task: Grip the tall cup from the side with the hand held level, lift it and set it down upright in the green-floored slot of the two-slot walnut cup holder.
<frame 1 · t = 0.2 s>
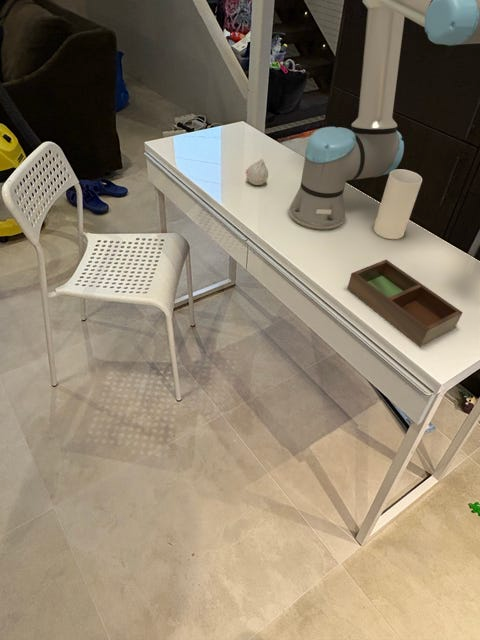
holder: (399, 308, 110), on the table
garlic bulb: (255, 184, 150), on the table
cup: (388, 231, 135), on the table
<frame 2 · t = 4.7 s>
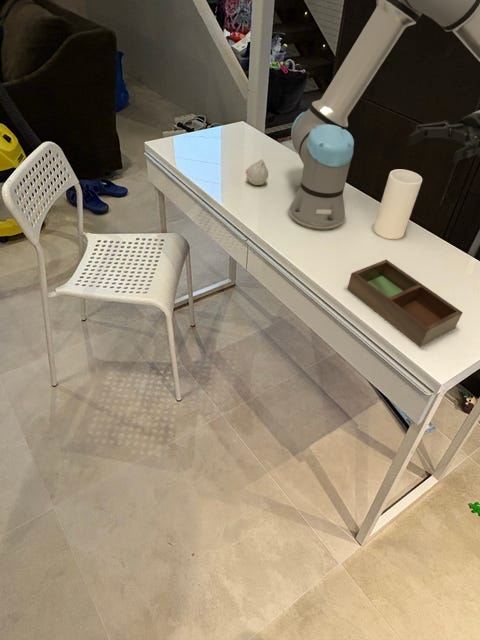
hand: (430, 149, 125), 21 cm above the table, tool horizontal, fingers open, 13 cm apart
nothing on the table moved.
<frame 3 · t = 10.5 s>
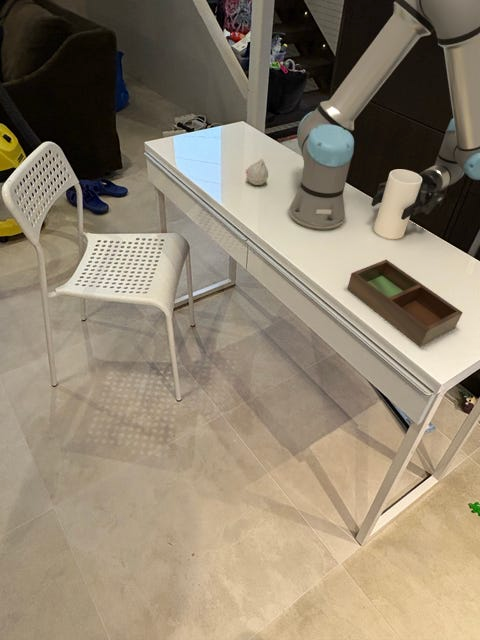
hand: (388, 207, 126), 9 cm above the table, tool horizontal, fingers closed on cup, 8 cm apart
cup: (388, 231, 135), on the table, touching gripper
everything else where it was.
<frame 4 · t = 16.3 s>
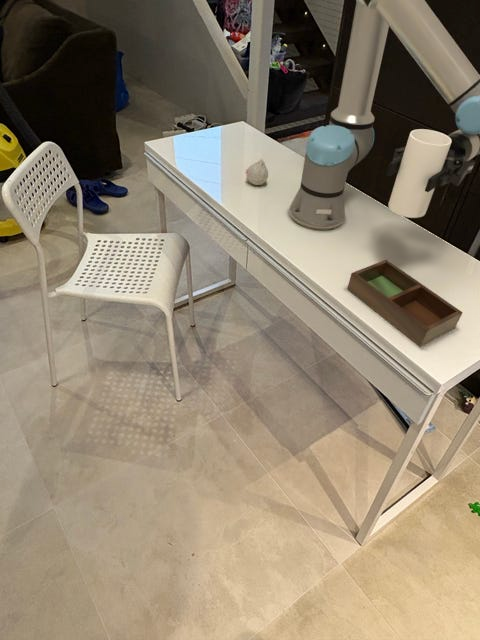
hand: (408, 177, 100), 26 cm above the table, tool horizontal, fingers closed on cup, 8 cm apart
cup: (406, 209, 109), point 17 cm above the table, touching gripper
everything else where it was.
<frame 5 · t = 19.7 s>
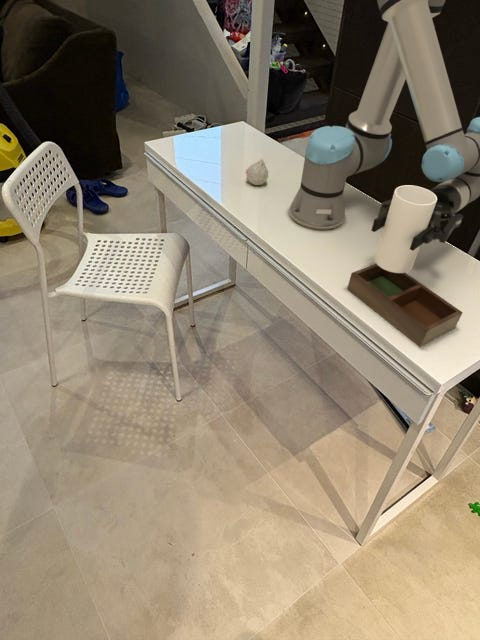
hand: (393, 234, 98), 18 cm above the table, tool horizontal, fingers closed on cup, 8 cm apart
cup: (393, 262, 107), point 9 cm above the table, touching gripper
everything else where it was.
when the fingers open (9 cm above the table, at t = 22.4 s): cup stays where it is, resting on holder.
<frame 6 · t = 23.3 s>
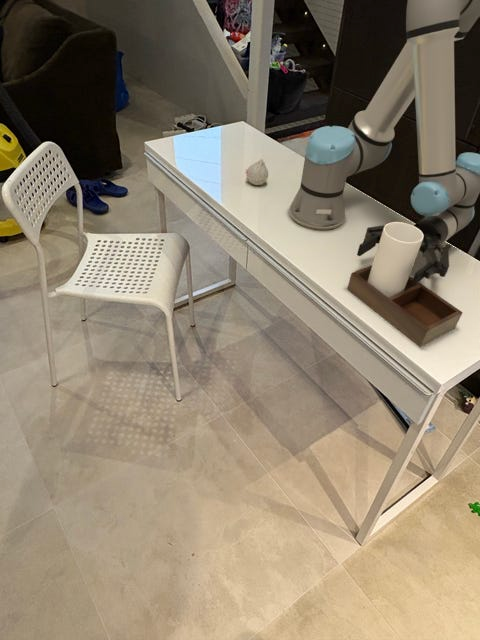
hand: (386, 264, 104), 10 cm above the table, tool horizontal, fingers open, 13 cm apart
cup: (383, 293, 112), point 1 cm above the table, touching holder
everything else where it was.
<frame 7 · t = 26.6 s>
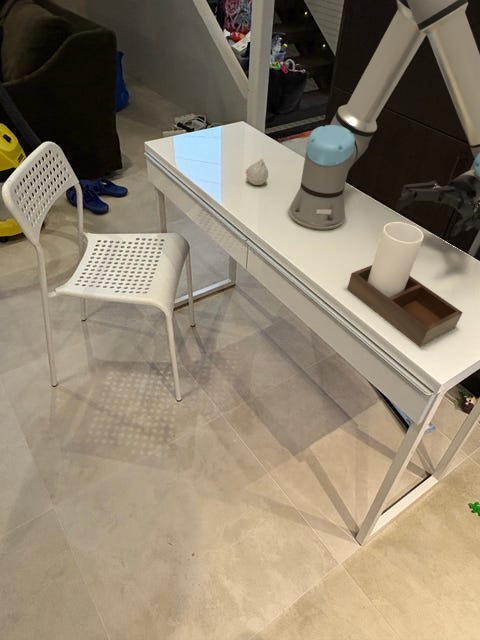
hand: (425, 217, 107), 17 cm above the table, tool horizontal, fingers open, 13 cm apart
nothing on the table moved.
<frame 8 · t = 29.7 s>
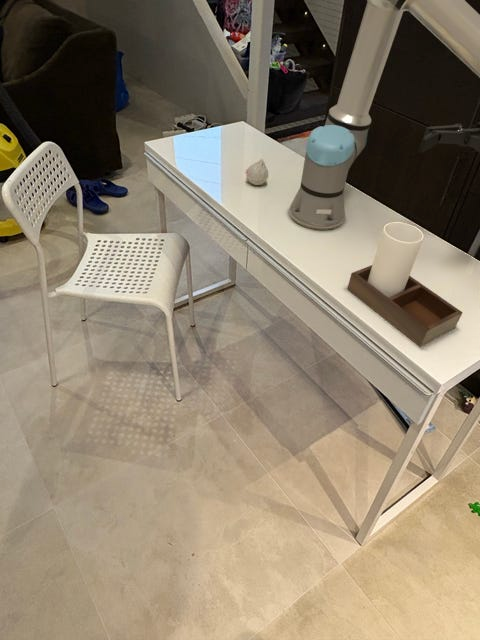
hand: (451, 157, 99), 30 cm above the table, tool horizontal, fingers open, 13 cm apart
nothing on the table moved.
at the end: cup 0.1 cm from the target spot in the holder, point 0.6 cm above the holder's base; cup tilted 0°; the gripper is holding nothing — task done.
